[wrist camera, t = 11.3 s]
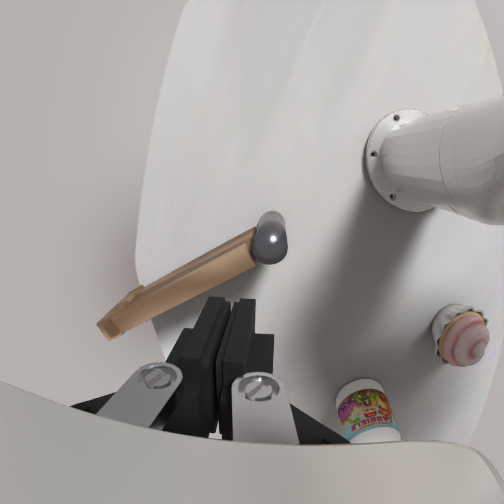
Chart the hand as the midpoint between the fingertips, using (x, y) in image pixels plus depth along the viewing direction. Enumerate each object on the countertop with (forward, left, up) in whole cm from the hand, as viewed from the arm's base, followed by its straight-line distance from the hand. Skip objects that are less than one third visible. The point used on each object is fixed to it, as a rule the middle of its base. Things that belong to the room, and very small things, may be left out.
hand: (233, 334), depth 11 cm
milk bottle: (-16, +27, -27) cm, 42 cm away
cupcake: (-28, +14, -27) cm, 42 cm away
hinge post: (-1, +1, -27) cm, 27 cm away
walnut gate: (+9, +7, -26) cm, 28 cm away
